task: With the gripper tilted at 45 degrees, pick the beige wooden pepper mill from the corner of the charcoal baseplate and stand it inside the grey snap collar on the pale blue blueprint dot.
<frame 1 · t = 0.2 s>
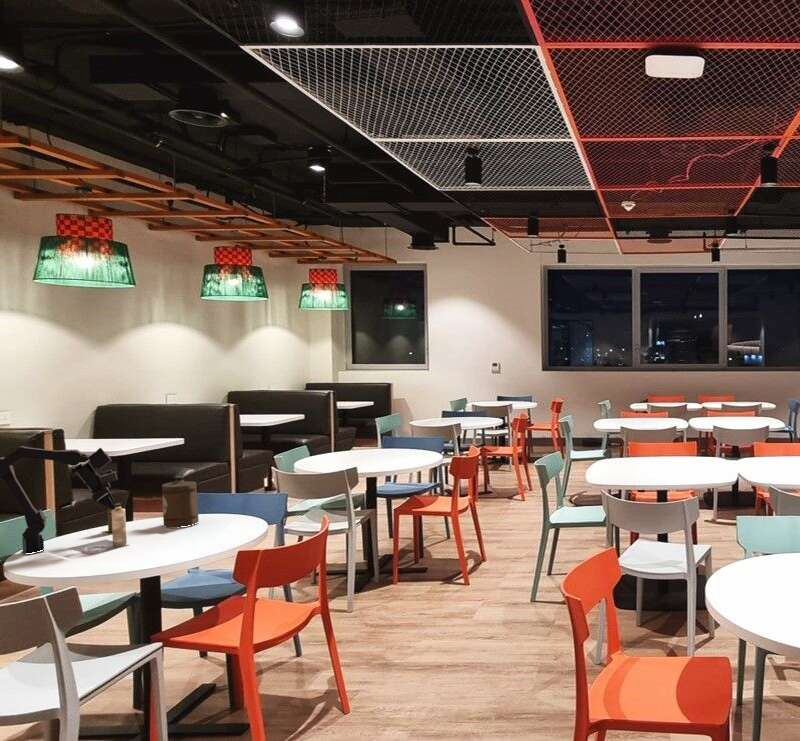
hand: (114, 507, 294), 14 cm above the table, tool tilted 35°, fingers open, 9 cm apart
wooden container: (181, 525, 325), on the table
condiment: (113, 532, 315), on the table
baseplate: (99, 548, 286), on the table
beige wooden pepper mill: (119, 545, 287), point 1 cm above the table, touching baseplate
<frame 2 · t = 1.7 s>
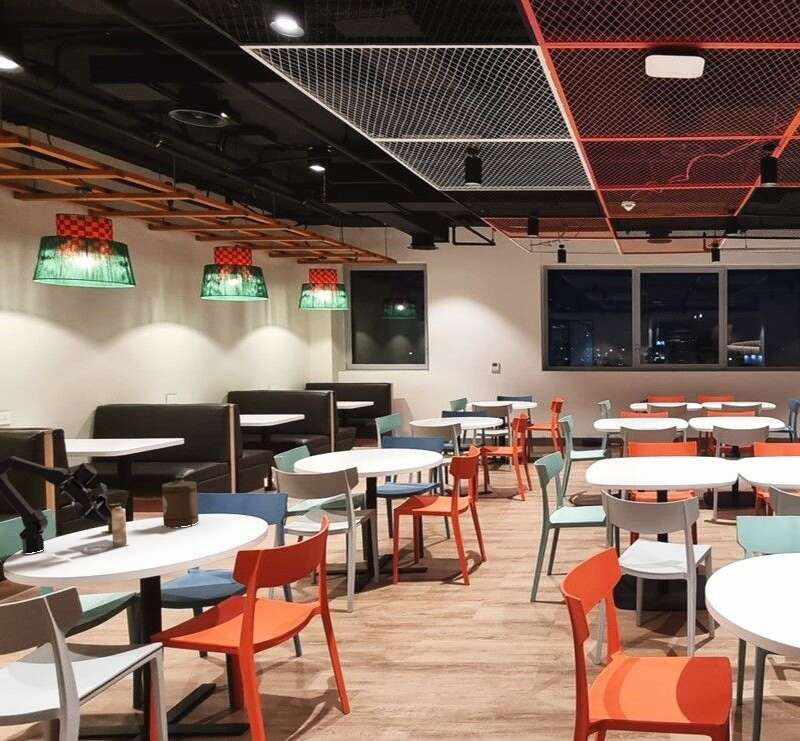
hand: (109, 519, 286), 11 cm above the table, tool tilted 45°, fingers open, 9 cm apart
nothing on the table moved.
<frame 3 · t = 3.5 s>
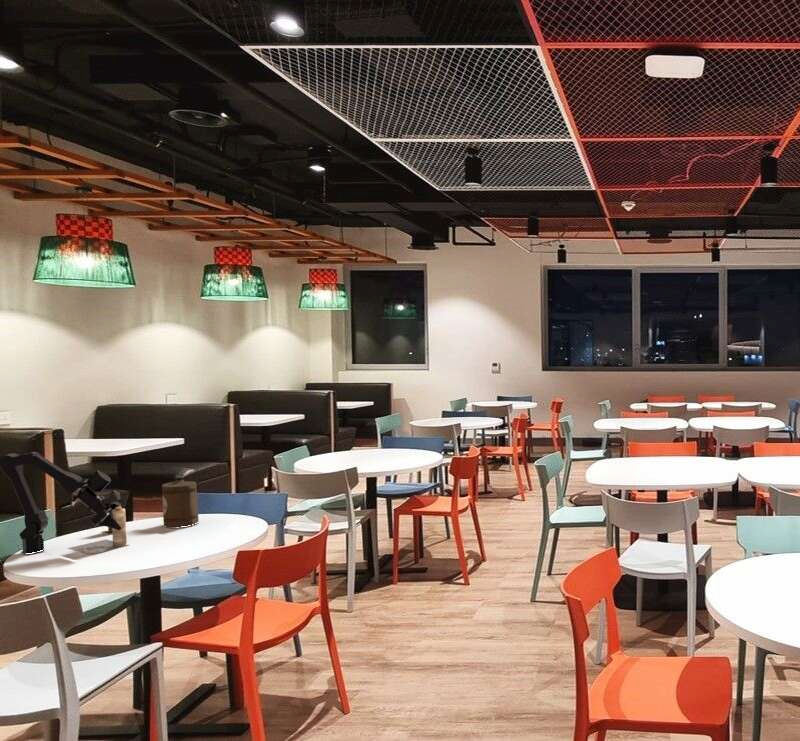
hand: (122, 527, 287), 8 cm above the table, tool tilted 45°, fingers closed on beige wooden pepper mill, 5 cm apart
beige wooden pepper mill: (119, 545, 287), point 1 cm above the table, touching baseplate, gripper
everything else where it was.
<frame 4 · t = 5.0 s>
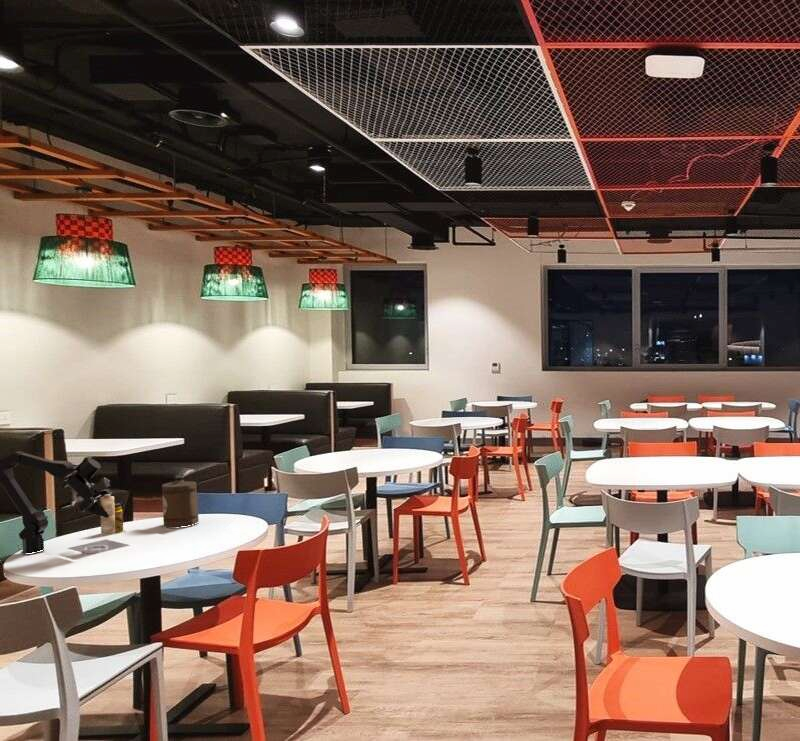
hand: (111, 515, 283), 13 cm above the table, tool tilted 45°, fingers closed on beige wooden pepper mill, 5 cm apart
beige wooden pepper mill: (108, 533, 284), point 6 cm above the table, touching gripper
everything else where it was.
when the fingers open (9 cm above the table, at t = 7.0 s): beige wooden pepper mill stays where it is, resting on baseplate.
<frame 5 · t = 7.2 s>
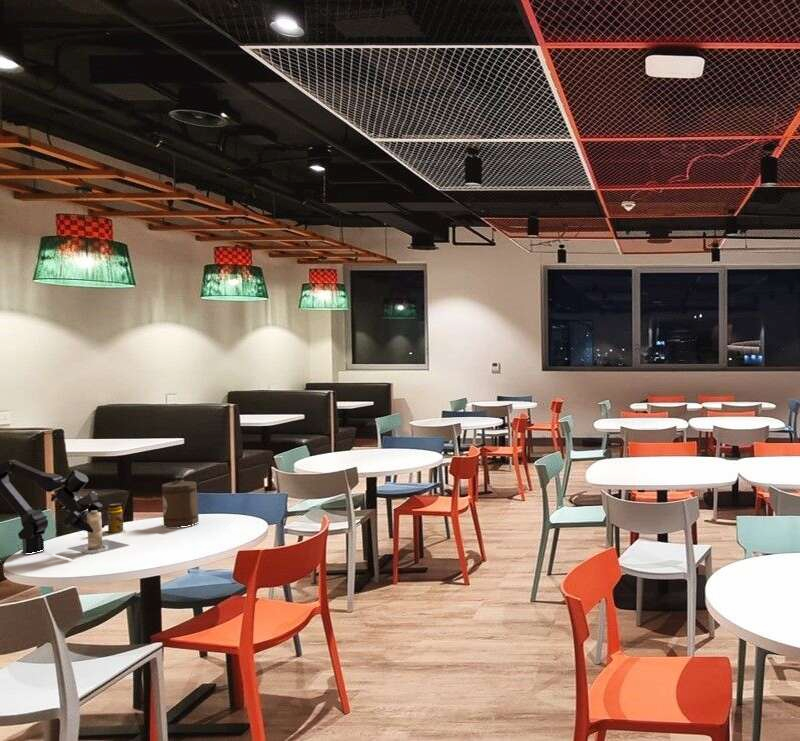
hand: (98, 529, 280), 9 cm above the table, tool tilted 45°, fingers open, 7 cm apart
beige wooden pepper mill: (95, 550, 281), point 1 cm above the table, touching baseplate
everything else where it was.
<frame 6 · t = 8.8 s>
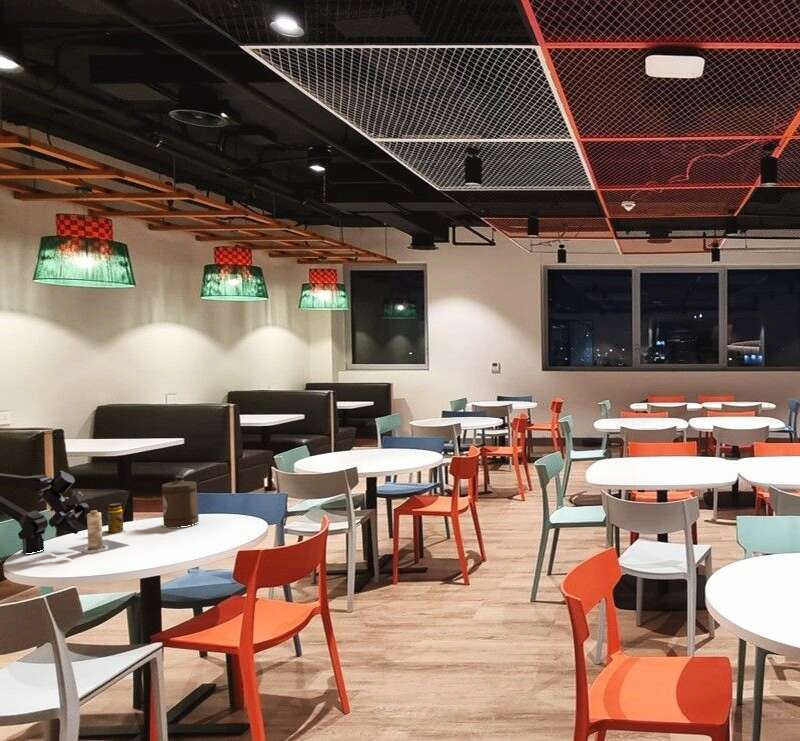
hand: (84, 530, 281), 9 cm above the table, tool tilted 45°, fingers open, 9 cm apart
nothing on the table moved.
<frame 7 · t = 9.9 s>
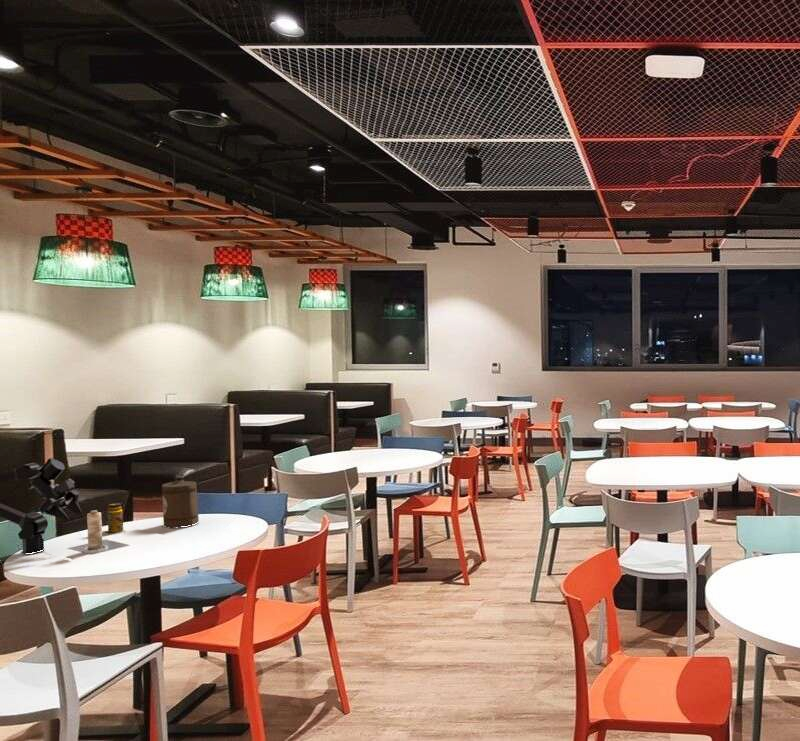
hand: (74, 516, 282), 14 cm above the table, tool tilted 45°, fingers open, 9 cm apart
nothing on the table moved.
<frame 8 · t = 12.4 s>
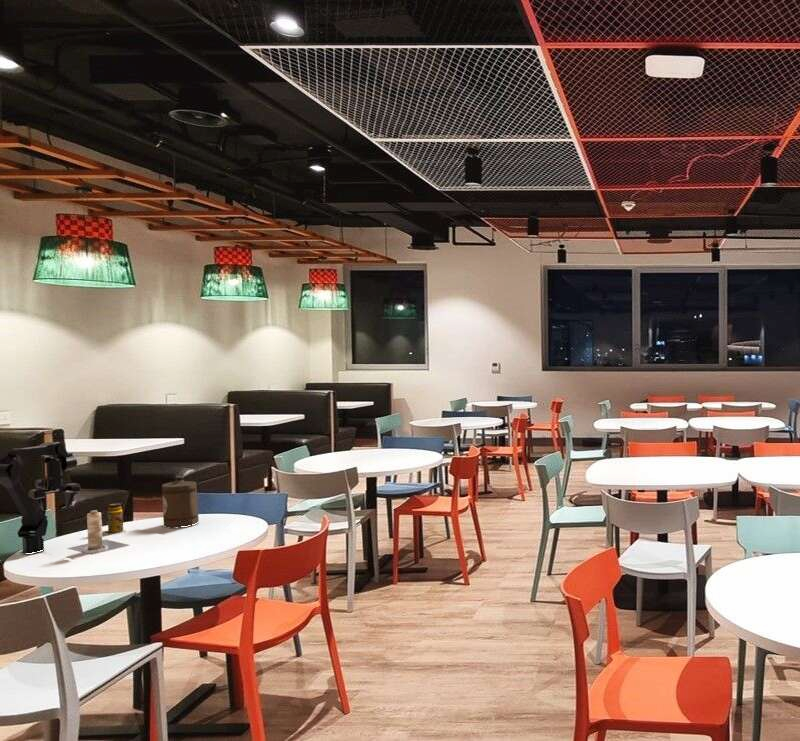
hand: (55, 511, 297), 13 cm above the table, tool pointing down, fingers open, 9 cm apart
nothing on the table moved.
at the end: beige wooden pepper mill 0.1 cm from the target spot, point 0.9 cm above the table; beige wooden pepper mill tilted 0°; the gripper is holding nothing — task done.
